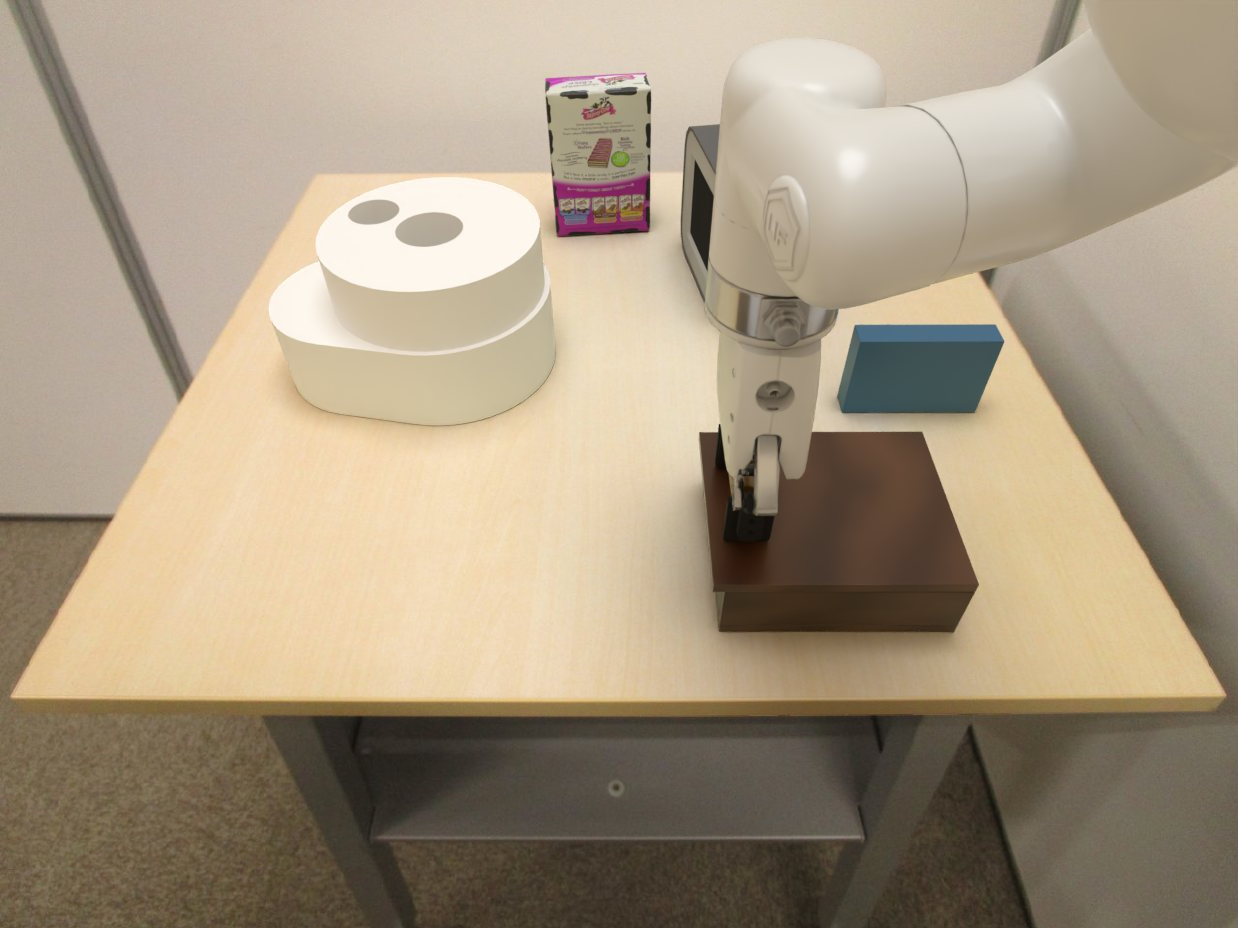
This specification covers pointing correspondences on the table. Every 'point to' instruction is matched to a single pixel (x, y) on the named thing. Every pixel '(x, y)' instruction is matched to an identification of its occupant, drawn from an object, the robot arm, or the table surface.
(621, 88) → the candy bar box
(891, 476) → the lid
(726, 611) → the box
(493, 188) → the container
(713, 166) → the alarm clock
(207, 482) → the table surface
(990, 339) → the blue hardcover book
